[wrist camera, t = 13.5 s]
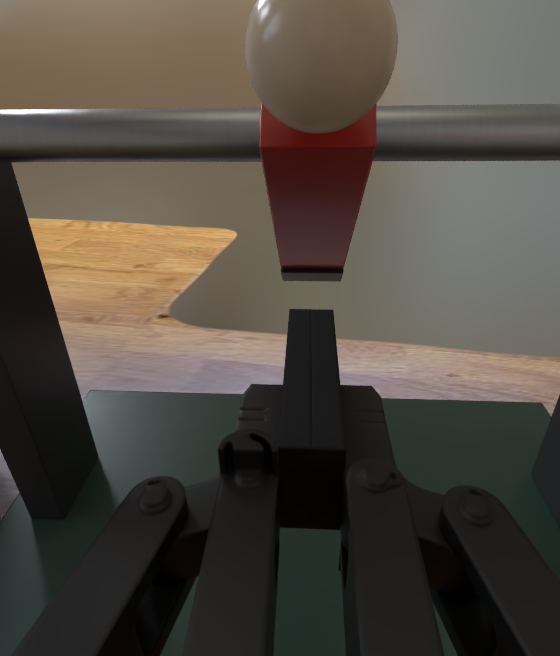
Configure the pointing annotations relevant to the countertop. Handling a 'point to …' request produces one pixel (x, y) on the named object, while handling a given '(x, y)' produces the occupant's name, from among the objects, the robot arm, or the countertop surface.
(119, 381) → the countertop surface
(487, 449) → the foosball frame
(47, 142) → the foosball rod
